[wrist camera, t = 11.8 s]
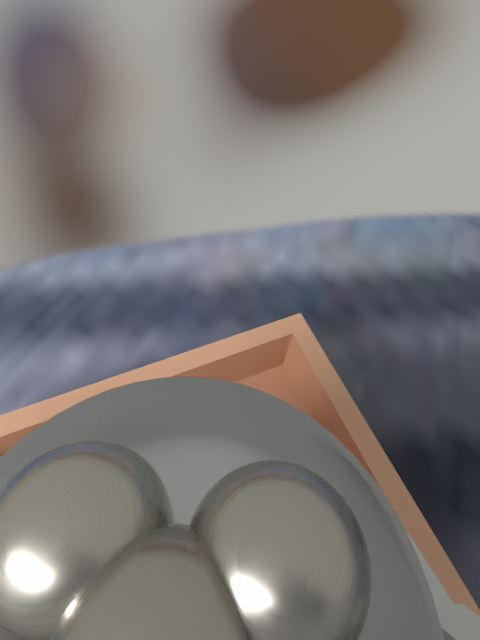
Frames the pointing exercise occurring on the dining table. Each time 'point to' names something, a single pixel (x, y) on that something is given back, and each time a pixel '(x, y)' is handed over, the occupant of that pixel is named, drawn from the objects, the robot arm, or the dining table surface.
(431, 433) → the dining table surface
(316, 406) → the terracotta bin
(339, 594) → the silver metal cylinder
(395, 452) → the dining table surface
